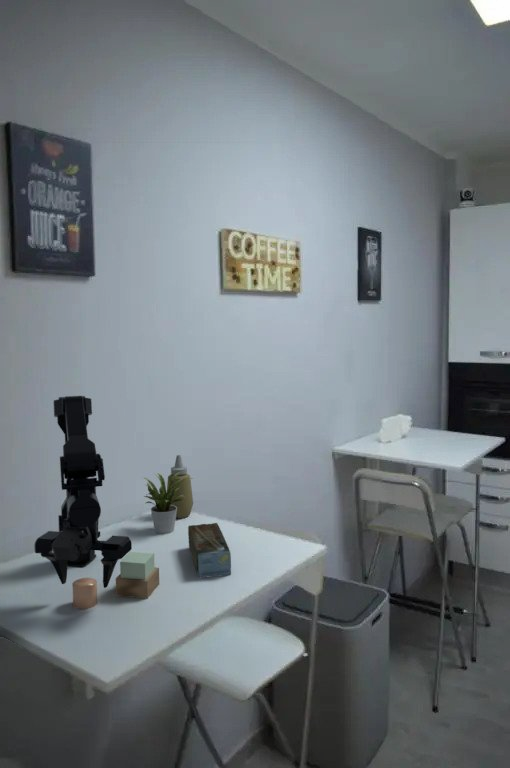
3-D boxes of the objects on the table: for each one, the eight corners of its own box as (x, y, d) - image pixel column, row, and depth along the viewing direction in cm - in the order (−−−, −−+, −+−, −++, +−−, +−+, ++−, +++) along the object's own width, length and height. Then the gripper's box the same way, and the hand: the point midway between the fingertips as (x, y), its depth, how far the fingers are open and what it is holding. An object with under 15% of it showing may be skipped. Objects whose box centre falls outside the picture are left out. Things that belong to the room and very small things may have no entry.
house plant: (196, 520, 177) (195, 464, 175) (194, 537, 163) (193, 477, 161) (145, 521, 176) (144, 465, 174) (139, 539, 162) (138, 478, 160)
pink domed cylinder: (68, 608, 124) (67, 586, 124) (80, 597, 129) (79, 576, 128) (90, 610, 123) (90, 588, 123) (101, 599, 128) (100, 578, 127)
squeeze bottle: (160, 515, 181) (159, 455, 179) (182, 509, 187) (181, 451, 185) (177, 522, 176) (176, 460, 174) (199, 515, 181) (198, 455, 179)
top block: (120, 577, 130) (120, 561, 129) (130, 567, 135) (130, 551, 135) (145, 579, 129) (145, 563, 128) (154, 568, 134) (154, 553, 134)
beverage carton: (196, 579, 138) (196, 551, 137) (187, 548, 156) (187, 523, 156) (231, 576, 139) (231, 547, 139) (218, 545, 158) (218, 520, 157)
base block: (116, 596, 130) (115, 578, 129) (129, 582, 136) (128, 565, 136) (147, 599, 128) (147, 581, 128) (159, 585, 135) (158, 567, 135)
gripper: (16, 521, 118) (20, 599, 120) (107, 527, 114) (110, 607, 116) (47, 503, 129) (50, 575, 130) (131, 508, 125) (133, 582, 127)
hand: (84, 585), depth 126 cm, fingers open, 9 cm apart
